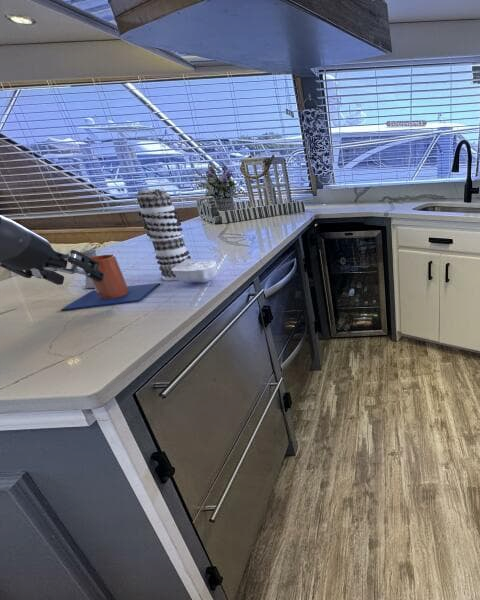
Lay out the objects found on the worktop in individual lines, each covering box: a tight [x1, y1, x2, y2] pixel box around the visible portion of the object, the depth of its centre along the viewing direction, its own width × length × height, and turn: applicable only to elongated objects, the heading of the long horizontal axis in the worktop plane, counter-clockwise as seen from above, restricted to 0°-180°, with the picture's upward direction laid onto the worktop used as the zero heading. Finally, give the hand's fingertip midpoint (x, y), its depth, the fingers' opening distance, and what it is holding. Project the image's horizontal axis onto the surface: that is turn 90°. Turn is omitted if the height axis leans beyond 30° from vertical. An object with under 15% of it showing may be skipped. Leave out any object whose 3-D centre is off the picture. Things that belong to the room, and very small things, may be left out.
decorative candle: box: [135, 188, 192, 282], centre depth 93 cm, size 9×9×25 cm
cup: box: [90, 254, 129, 299], centre depth 81 cm, size 6×6×10 cm
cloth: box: [61, 282, 160, 312], centre depth 84 cm, size 16×13×1 cm
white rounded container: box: [171, 258, 218, 284], centre depth 90 cm, size 10×12×7 cm
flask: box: [79, 249, 98, 289], centre depth 91 cm, size 7×7×10 cm
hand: (81, 279), depth 74 cm, fingers open, 8 cm apart
